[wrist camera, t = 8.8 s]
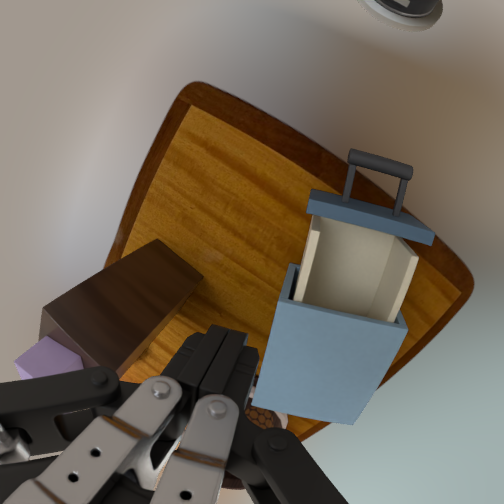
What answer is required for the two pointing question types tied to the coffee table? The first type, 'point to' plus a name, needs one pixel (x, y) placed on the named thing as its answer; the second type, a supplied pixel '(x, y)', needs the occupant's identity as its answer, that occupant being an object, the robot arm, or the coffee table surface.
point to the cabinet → (324, 359)
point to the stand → (121, 307)
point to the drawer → (360, 247)
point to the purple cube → (47, 360)
